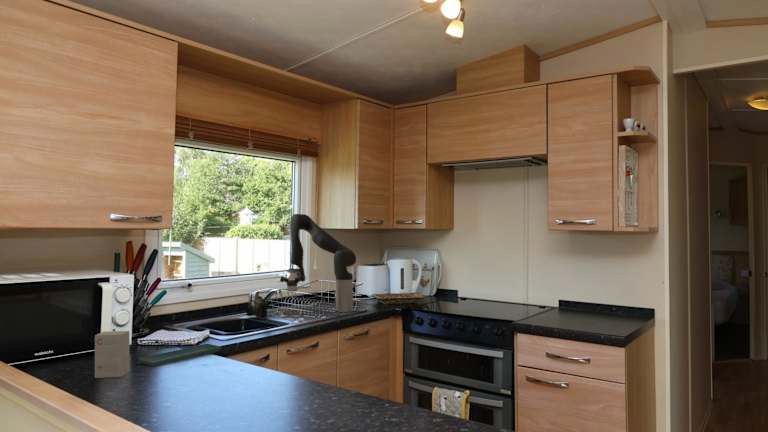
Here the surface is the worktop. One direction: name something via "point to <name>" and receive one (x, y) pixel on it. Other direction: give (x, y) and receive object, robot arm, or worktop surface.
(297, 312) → the mount ring
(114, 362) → the small box
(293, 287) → the lens
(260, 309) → the camera
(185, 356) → the dark green board
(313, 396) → the worktop surface
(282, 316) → the base board
